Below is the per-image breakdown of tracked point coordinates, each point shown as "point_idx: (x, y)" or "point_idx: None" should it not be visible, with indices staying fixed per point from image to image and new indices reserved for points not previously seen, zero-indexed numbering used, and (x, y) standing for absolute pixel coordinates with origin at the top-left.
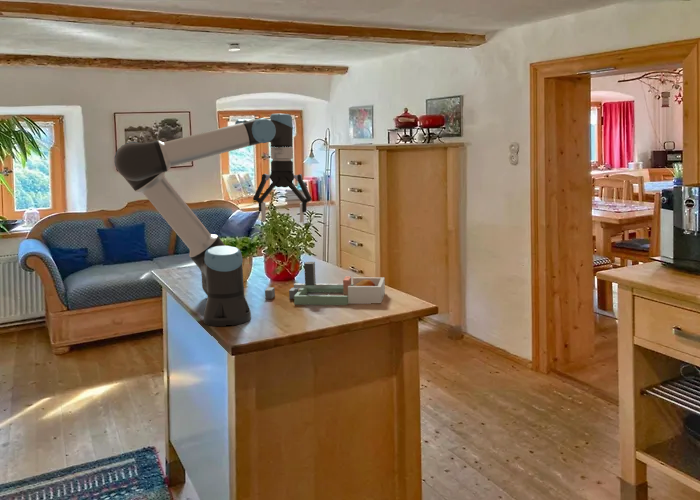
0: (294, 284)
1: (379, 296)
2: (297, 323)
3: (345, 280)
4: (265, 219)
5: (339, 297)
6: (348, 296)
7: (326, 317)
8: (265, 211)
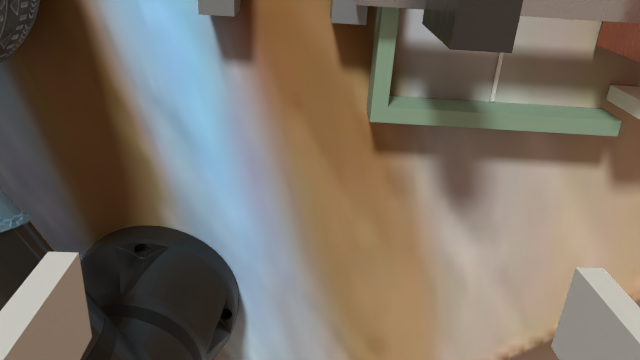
0: (360, 4)
1: None
2: (405, 326)
3: None
4: (74, 275)
5: (580, 132)
6: (624, 110)
7: (501, 272)
8: (17, 350)
